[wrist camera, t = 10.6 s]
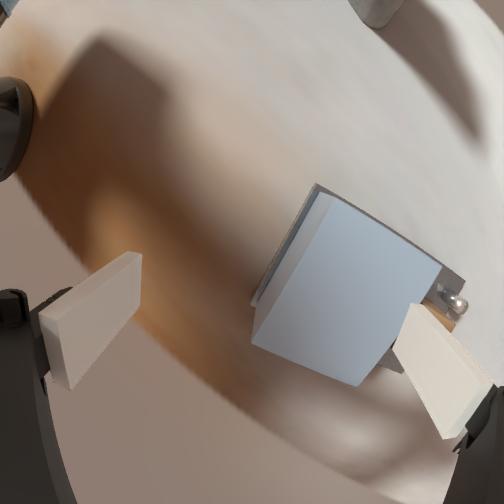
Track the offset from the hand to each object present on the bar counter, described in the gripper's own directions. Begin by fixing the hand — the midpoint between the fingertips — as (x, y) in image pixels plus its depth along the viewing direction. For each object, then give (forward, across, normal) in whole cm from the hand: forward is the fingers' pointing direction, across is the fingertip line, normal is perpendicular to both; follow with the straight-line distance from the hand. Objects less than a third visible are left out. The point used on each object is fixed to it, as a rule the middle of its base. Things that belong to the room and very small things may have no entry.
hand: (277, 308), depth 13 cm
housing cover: (+14, -6, +2) cm, 15 cm away
